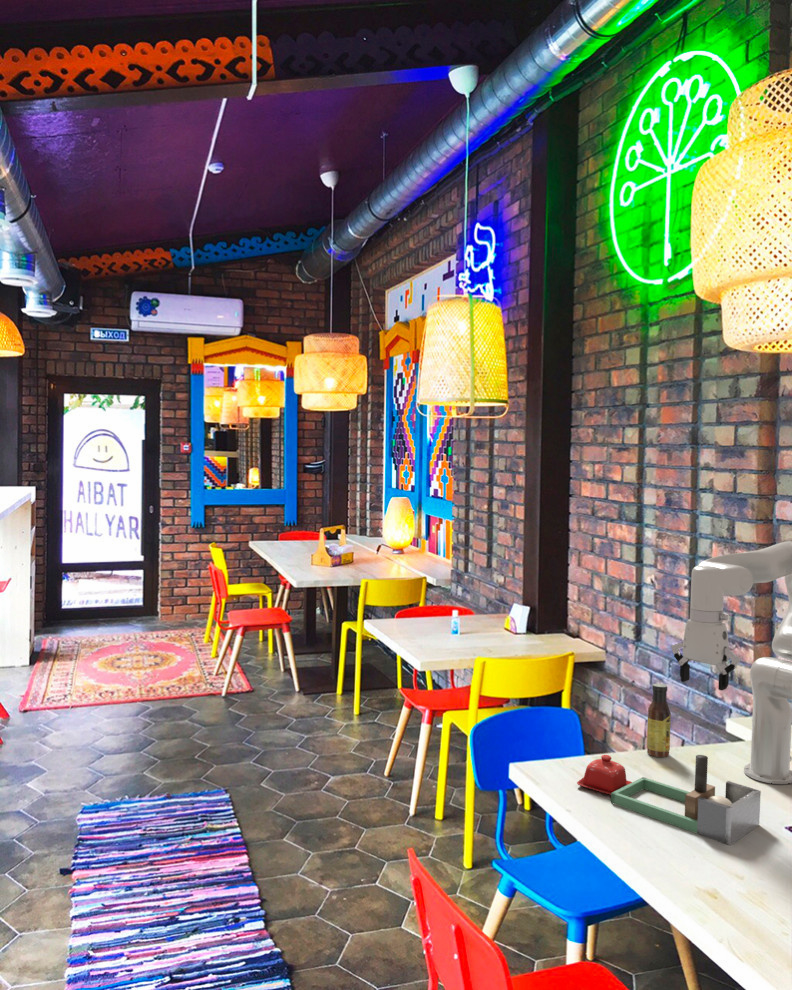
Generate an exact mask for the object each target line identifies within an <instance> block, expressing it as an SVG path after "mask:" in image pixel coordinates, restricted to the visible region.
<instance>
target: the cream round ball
mask: <svg viewBox="0 0 792 990" xmlns="http://www.w3.org/2000/svg"><path fill="white" fill-rule="evenodd" d="M708 800H711V801H714V802H717V803H720V804H724V805H727V806H730V805H731V804H732V802H731V801H730V800H728V799H727V798H725V796H723V795H722V796H721V795H715V796H712V797H710V798H708Z"/></svg>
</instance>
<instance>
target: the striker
mask: <svg viewBox="0 0 792 990" xmlns="http://www.w3.org/2000/svg"><path fill="white" fill-rule="evenodd" d="M708 761H709V758H708V756H707V755H704V754H697V755H695V770H694V773H695V775H694V789H693V790H691V791H688V792H689V793H688V794H686V795H685V802H684V816H685V817H688V818H691V819H694V820H697V821H698V799H699V798H700V797H702V798H705V799H708V798H710V797H712V796H716V786H714V785H712V784H708V765H709V764H708V763H709V762H708Z"/></svg>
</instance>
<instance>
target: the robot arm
mask: <svg viewBox="0 0 792 990" xmlns="http://www.w3.org/2000/svg"><path fill="white" fill-rule="evenodd" d="M783 577H784V583H785V587H786V592H787V597H788V607H787V610H786V612H785V615H784V616H783V618H782V620H781V622H780V624H779V626H778V628H777V630H776V632H775V634H774V637H773V639H772V642H771V649H772V651H773V653H774V654H775V655H776V656H778V657H780V658H777V657H772V656H771V657H770V656H763V657H759V658H757V659H756V660H755V661H753V663H752V664H751V666H750V671H749V679H750V683H751V685H750V686H751V692H752V718H751V721H752V722H751V742H750V743H751V746H750V763H748V764H745V765H744V768H743V772H744V774H745V775H746V776H748V777H749V778H751V779H753V780H755V781H757V782H763V783H765V784H766V783H767V784H771V783H772V785H788V783H790V784H792V770H791V769H790V767H791V766H790V765H791V764H790V763H791V762H792V756H791V744H792V743H791V742H792V741H791V739H792V707H791V704H790V703H789V700H790V701H792V541H791V540H789V541H782V542H779V543H776V544H773V545H770V546H767V547H764V548H761V549H758V550H753V551H744V552H737V553H728V554H722V555H717V556H713V557H711V558H707V559H704V560H703V561H701V562H699V564H698V565H695V566H694V567H693V568H692V570H691V581H690V584H691V586H690V608H689V611H690V612H689V619H687V621H686V626H685V629H684V634H683V641H682V642H678V643H675V644H672V645H671V646H670V649H671V651H672V653H673V657H674V658H675V660H676V661H677V662H678V664H677V665H679V666H680V667H679V668H680V669H679V678H680V682H683V683H685V682H687V681H689V680H690V675H691V674H690V673H691V672H690V670H691V665H690V664H689V663H690V662H691V661H693V662H697V663H703V664H706V665H707V664H708V665H713V666H716V667H717V669H718V670H719V671H720V673H719V675H718V690H719V691H724V690H727V688H728V686H729V683H730V682H729V679H730V678H729V677H730V676H729V675H730V673H731V672H732V671H733V670H735V669H736V668H737V667H738V665H739V663H740V662H741V657H740V656H738V654H735V653H734V652H733V651H732V650H730V646H729V644H730V643H729V636H728V635H729V634H728V627H727V624H726V623H724V621H728V620H729V616H728V614H725V613H724V596H725V595H726V596H737V597H739V596H743V595H745V594H747V593H748V592H750V590H751V589H752V587H753V584H759V583H761V584H762V583H763V584H765V583H770V582H772V581H775V580H778V579H780V578H783ZM681 648H682V653H681V652H680V649H681ZM781 658H782V659H781ZM729 659H731V662H730V664H728V663H727V662H728V661H729Z"/></svg>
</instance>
